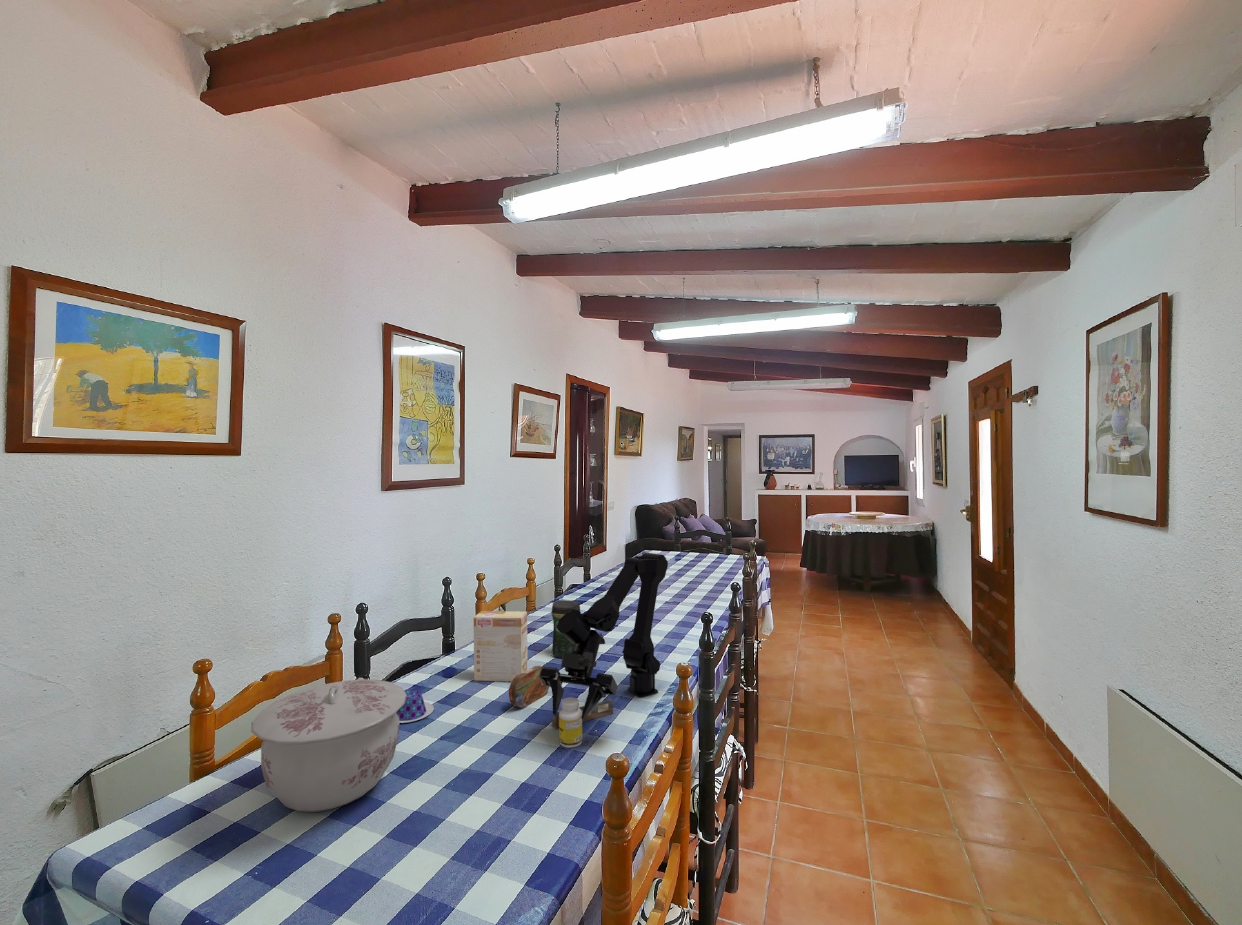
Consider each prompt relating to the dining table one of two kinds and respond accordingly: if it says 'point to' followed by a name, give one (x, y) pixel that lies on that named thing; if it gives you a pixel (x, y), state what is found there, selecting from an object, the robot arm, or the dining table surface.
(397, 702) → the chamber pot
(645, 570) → the robot arm
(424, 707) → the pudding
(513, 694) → the tin
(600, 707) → the rail
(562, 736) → the supplement bottle
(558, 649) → the coffee jar
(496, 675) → the coffeecake box
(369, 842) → the dining table surface
